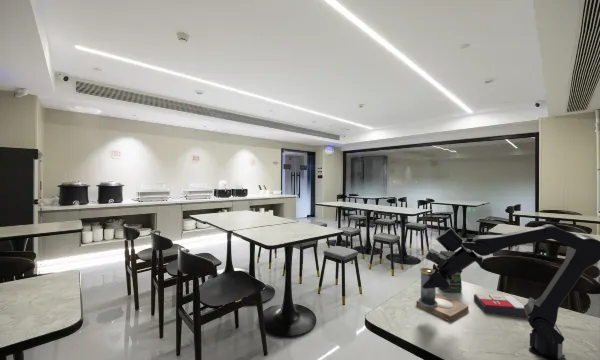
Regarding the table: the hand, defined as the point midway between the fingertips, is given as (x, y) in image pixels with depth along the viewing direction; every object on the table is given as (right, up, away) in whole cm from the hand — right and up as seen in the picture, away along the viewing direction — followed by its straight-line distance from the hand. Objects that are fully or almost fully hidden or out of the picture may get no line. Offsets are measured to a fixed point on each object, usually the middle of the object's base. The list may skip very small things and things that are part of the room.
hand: (424, 284), depth 97 cm
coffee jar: (+25, -13, +26) cm, 39 cm away
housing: (+1, -7, -1) cm, 7 cm away
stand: (+12, -13, +9) cm, 20 cm away
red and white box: (+36, -14, +9) cm, 39 cm away
